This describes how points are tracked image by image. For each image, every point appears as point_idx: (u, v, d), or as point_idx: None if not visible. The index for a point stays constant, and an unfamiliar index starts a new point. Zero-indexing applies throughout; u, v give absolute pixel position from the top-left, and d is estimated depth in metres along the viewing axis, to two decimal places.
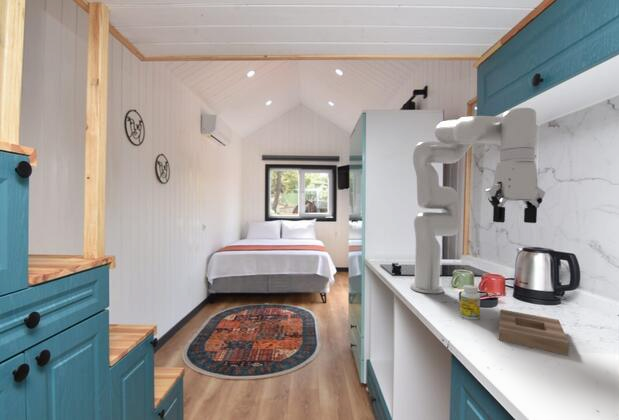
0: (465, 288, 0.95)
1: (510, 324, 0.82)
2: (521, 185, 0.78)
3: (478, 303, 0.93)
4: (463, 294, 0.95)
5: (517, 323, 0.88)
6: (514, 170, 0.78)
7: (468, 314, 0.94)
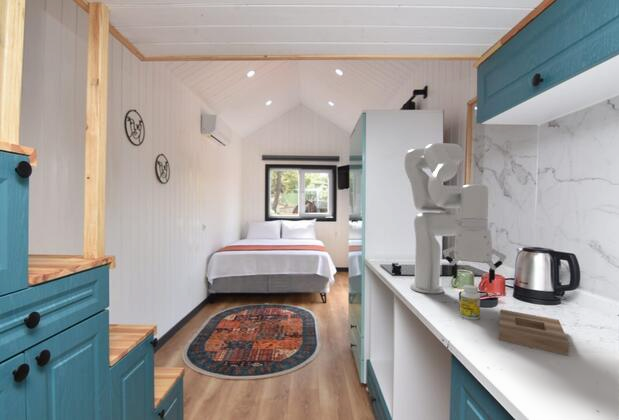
0: (465, 288, 0.95)
1: (510, 324, 0.82)
2: None
3: (478, 303, 0.93)
4: (463, 294, 0.95)
5: (517, 323, 0.88)
6: None
7: (468, 314, 0.94)
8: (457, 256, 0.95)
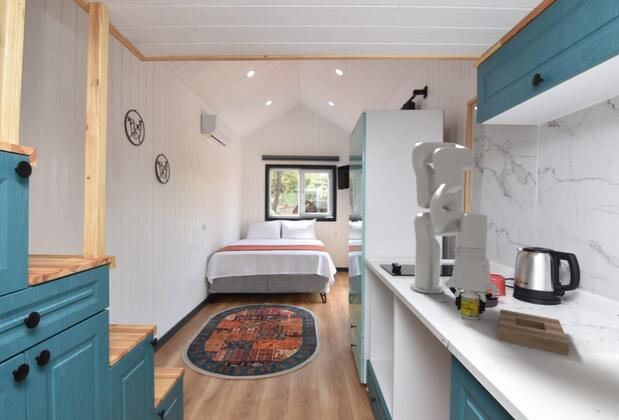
0: None
1: (510, 324, 0.82)
2: None
3: (478, 303, 0.93)
4: (463, 294, 0.95)
5: (517, 323, 0.88)
6: None
7: (468, 314, 0.94)
8: (455, 284, 0.95)
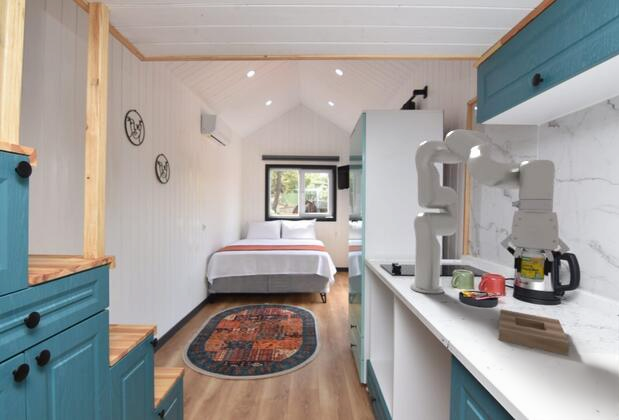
0: None
1: (510, 324, 0.82)
2: None
3: (543, 263, 0.81)
4: (525, 253, 0.83)
5: (517, 323, 0.88)
6: None
7: (532, 275, 0.81)
8: (515, 242, 0.83)
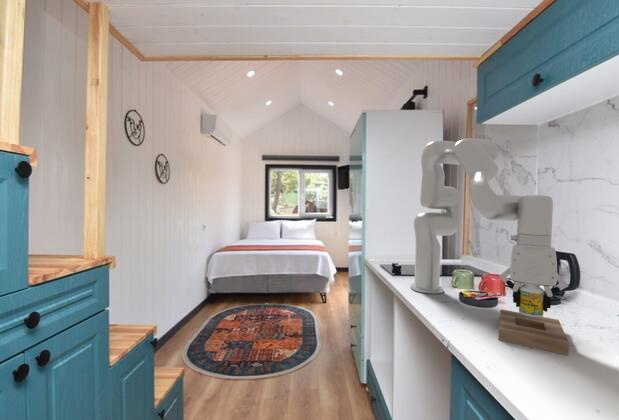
0: None
1: (510, 324, 0.82)
2: None
3: (542, 298, 0.81)
4: (524, 288, 0.83)
5: (517, 323, 0.88)
6: None
7: (531, 311, 0.81)
8: (514, 277, 0.83)
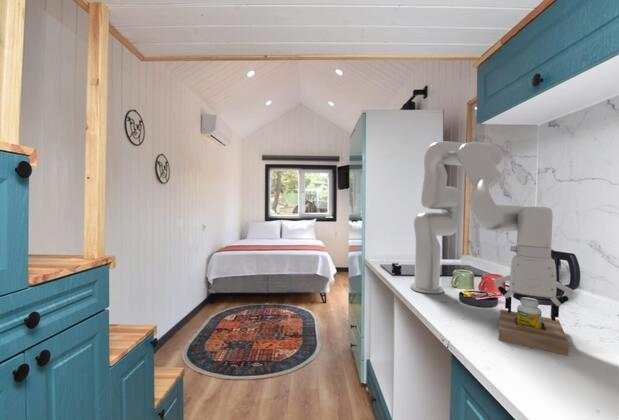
0: (524, 301, 0.83)
1: (510, 324, 0.82)
2: None
3: (540, 319, 0.81)
4: (521, 308, 0.83)
5: None
6: None
7: None
8: (514, 288, 0.83)
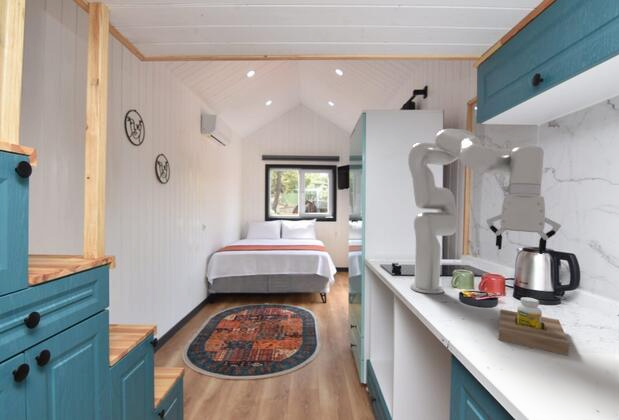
0: (524, 301, 0.83)
1: (510, 324, 0.82)
2: None
3: (540, 319, 0.81)
4: (521, 308, 0.83)
5: None
6: None
7: None
8: (504, 225, 0.87)
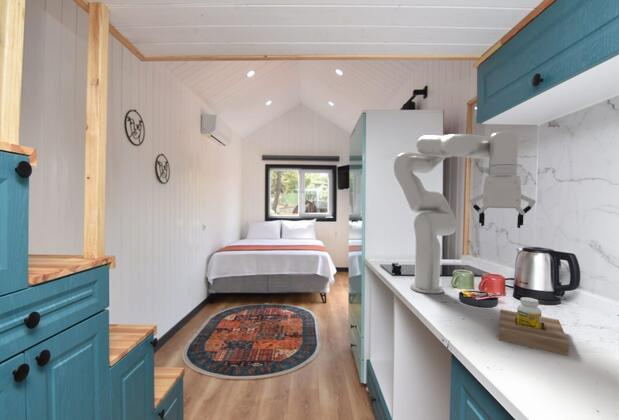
0: (524, 301, 0.83)
1: (510, 324, 0.82)
2: None
3: (540, 319, 0.81)
4: (521, 308, 0.83)
5: None
6: None
7: None
8: (485, 203, 0.96)
